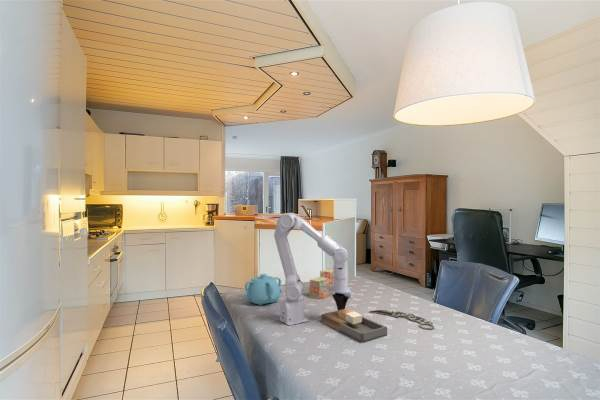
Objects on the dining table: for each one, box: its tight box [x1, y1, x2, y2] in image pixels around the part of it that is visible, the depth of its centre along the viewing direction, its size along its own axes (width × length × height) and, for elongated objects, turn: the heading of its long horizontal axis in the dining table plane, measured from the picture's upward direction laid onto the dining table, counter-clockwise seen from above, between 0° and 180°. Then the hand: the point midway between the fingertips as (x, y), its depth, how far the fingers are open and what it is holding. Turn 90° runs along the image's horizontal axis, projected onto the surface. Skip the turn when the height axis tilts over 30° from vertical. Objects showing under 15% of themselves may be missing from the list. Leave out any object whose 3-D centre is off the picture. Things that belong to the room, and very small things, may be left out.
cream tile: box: [345, 310, 363, 324], centre depth 125 cm, size 4×4×3 cm
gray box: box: [339, 317, 388, 344], centre depth 120 cm, size 12×12×3 cm
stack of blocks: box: [309, 267, 335, 300], centre depth 174 cm, size 21×6×12 cm, turn 140°
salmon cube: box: [337, 308, 354, 320], centre depth 129 cm, size 4×4×3 cm
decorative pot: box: [243, 273, 283, 306], centre depth 162 cm, size 16×16×14 cm
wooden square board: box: [320, 310, 365, 332], centre depth 131 cm, size 12×12×3 cm
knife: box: [369, 309, 435, 331], centre depth 136 cm, size 28×2×10 cm
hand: (341, 312), depth 132 cm, fingers closed
